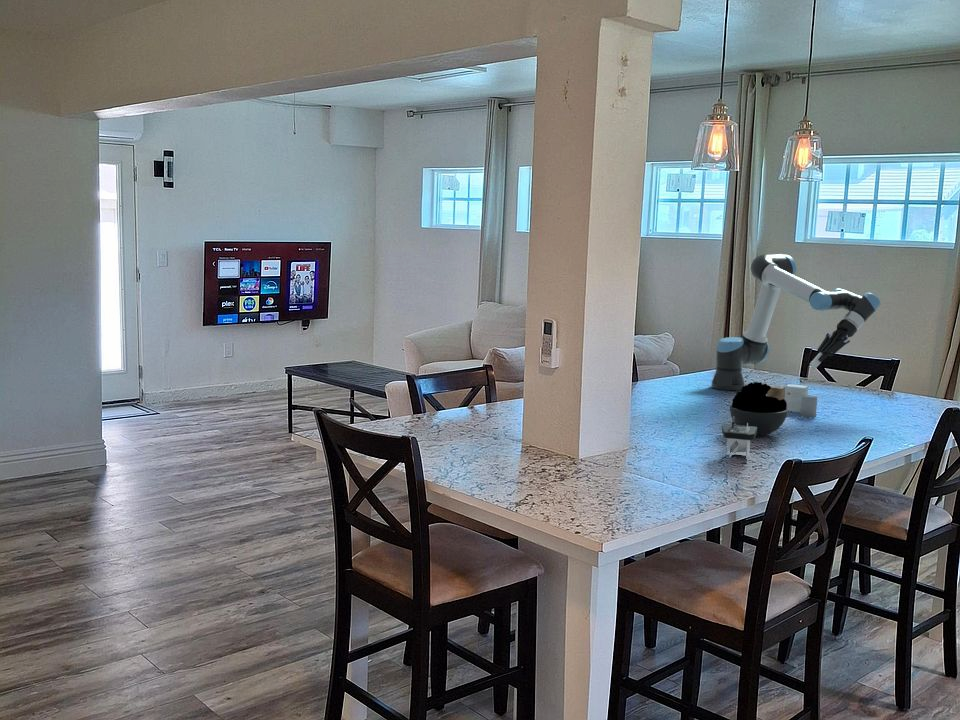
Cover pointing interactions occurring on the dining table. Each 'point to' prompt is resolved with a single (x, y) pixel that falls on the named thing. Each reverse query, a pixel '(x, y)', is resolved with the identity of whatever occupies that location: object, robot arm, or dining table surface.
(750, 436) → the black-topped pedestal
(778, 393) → the walnut block
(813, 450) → the dining table surface
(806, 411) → the white rectangular block
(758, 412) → the bowl of black rocks
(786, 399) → the small box
